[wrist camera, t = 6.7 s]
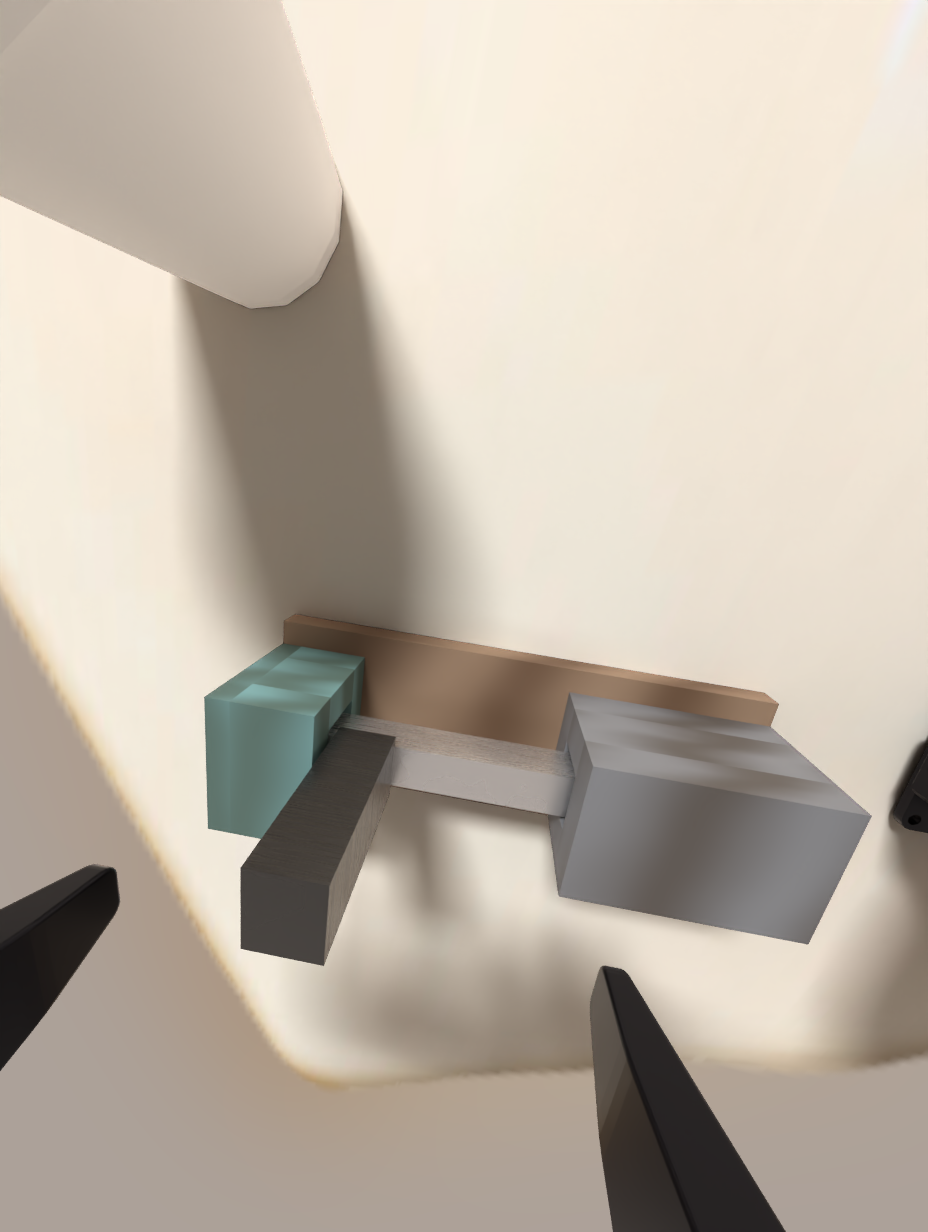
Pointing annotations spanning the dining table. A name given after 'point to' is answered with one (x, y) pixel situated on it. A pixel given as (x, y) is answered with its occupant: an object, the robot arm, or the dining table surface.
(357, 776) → the angled grey metal bar
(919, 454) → the dining table surface
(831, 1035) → the dining table surface
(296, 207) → the foam cup
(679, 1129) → the robot arm
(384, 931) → the dining table surface
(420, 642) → the wooden long base
